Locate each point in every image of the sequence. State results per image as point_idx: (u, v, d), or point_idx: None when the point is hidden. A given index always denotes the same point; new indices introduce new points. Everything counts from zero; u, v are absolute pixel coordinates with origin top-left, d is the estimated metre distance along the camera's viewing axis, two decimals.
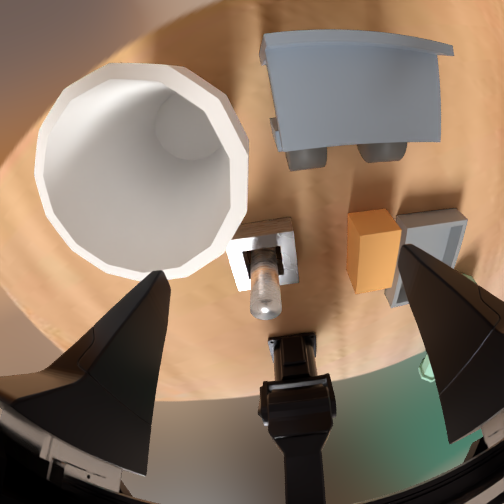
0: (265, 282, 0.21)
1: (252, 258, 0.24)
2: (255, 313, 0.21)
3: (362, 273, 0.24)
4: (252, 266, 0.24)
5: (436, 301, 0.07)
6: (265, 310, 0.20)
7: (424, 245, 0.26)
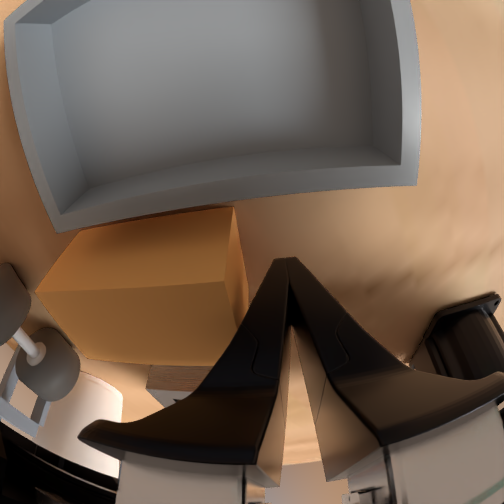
0: None
1: None
2: None
3: (170, 358, 0.09)
4: None
5: (298, 325, 0.07)
6: None
7: (150, 67, 0.06)
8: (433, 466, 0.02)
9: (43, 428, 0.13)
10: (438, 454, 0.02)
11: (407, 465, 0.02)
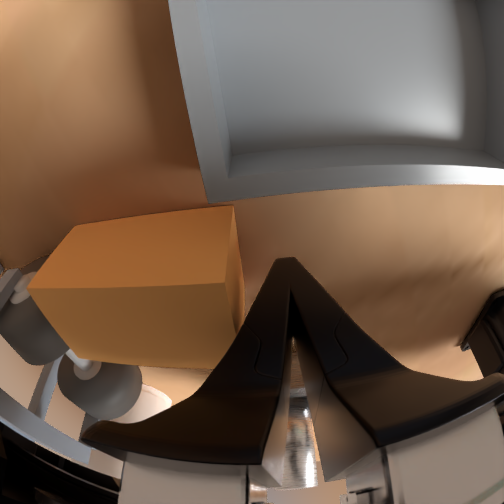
0: None
1: None
2: (300, 488, 0.11)
3: (164, 360, 0.08)
4: None
5: (297, 325, 0.07)
6: (297, 488, 0.10)
7: (336, 39, 0.06)
8: (430, 467, 0.02)
9: None
10: (436, 455, 0.02)
11: (404, 466, 0.02)
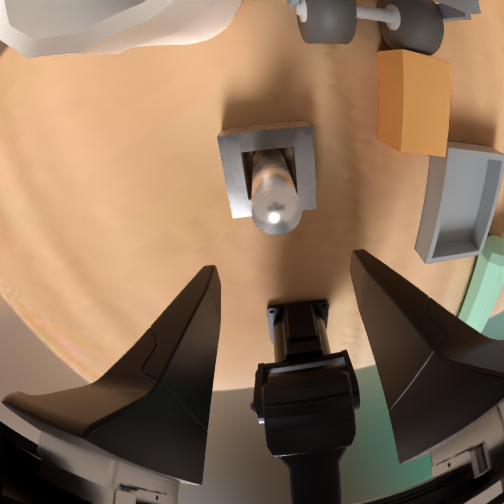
0: (275, 176, 0.14)
1: (255, 164, 0.17)
2: (259, 220, 0.13)
3: (409, 113, 0.13)
4: (255, 169, 0.16)
5: (381, 312, 0.07)
6: (276, 214, 0.13)
7: (461, 185, 0.19)
8: None
9: None
10: None
11: None
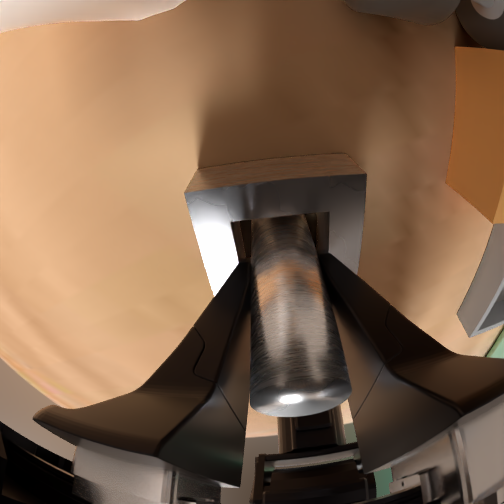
0: (302, 312, 0.06)
1: (256, 242, 0.10)
2: (265, 408, 0.06)
3: None
4: (257, 261, 0.09)
5: (341, 319, 0.07)
6: (299, 402, 0.06)
7: None
8: (489, 436, 0.02)
9: None
10: (492, 426, 0.02)
11: (469, 437, 0.02)
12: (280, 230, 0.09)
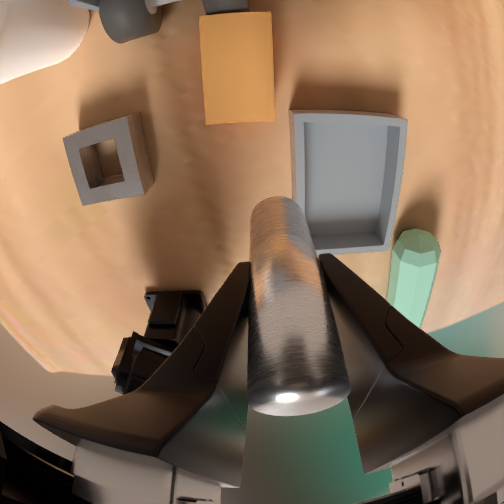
0: (300, 309, 0.06)
1: (254, 239, 0.10)
2: (263, 406, 0.06)
3: (211, 80, 0.13)
4: (255, 259, 0.09)
5: (341, 319, 0.07)
6: (297, 400, 0.06)
7: (344, 163, 0.19)
8: (489, 436, 0.02)
9: None
10: (492, 426, 0.02)
11: (469, 437, 0.02)
12: (278, 227, 0.09)
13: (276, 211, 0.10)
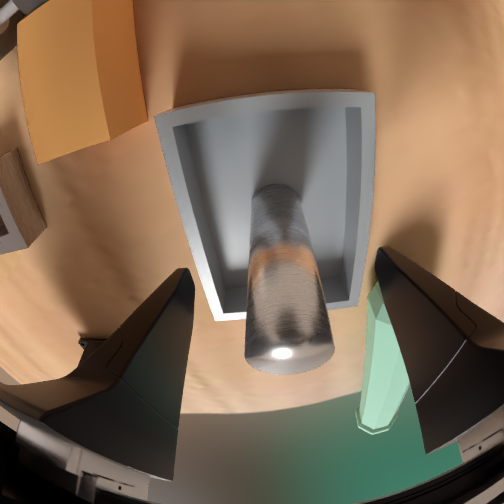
0: (290, 277, 0.07)
1: (254, 221, 0.11)
2: (258, 362, 0.07)
3: (31, 103, 0.07)
4: (254, 237, 0.10)
5: (410, 307, 0.07)
6: (288, 356, 0.07)
7: (273, 180, 0.12)
8: None
9: None
10: None
11: None
12: (275, 210, 0.10)
13: (274, 196, 0.11)
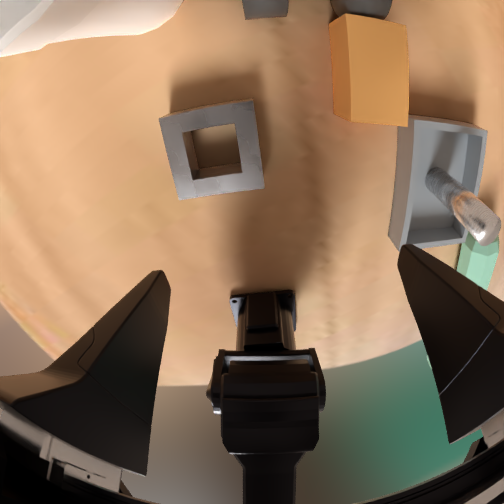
0: (482, 202, 0.13)
1: (444, 183, 0.16)
2: (481, 235, 0.13)
3: (358, 79, 0.12)
4: (451, 189, 0.16)
5: (436, 301, 0.07)
6: (489, 232, 0.12)
7: (437, 165, 0.18)
8: None
9: None
10: None
11: None
12: (453, 179, 0.16)
13: (445, 173, 0.17)
